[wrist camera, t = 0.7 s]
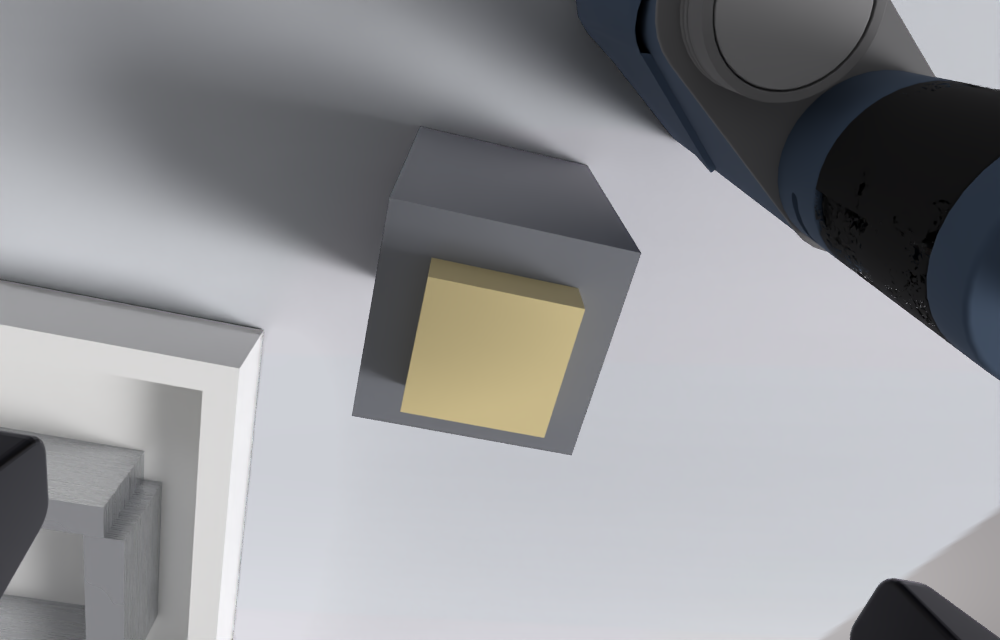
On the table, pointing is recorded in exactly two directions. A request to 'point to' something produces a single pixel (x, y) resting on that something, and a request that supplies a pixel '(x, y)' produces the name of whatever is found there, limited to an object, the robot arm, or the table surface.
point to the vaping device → (834, 139)
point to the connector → (493, 294)
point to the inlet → (97, 545)
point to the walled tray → (140, 436)
